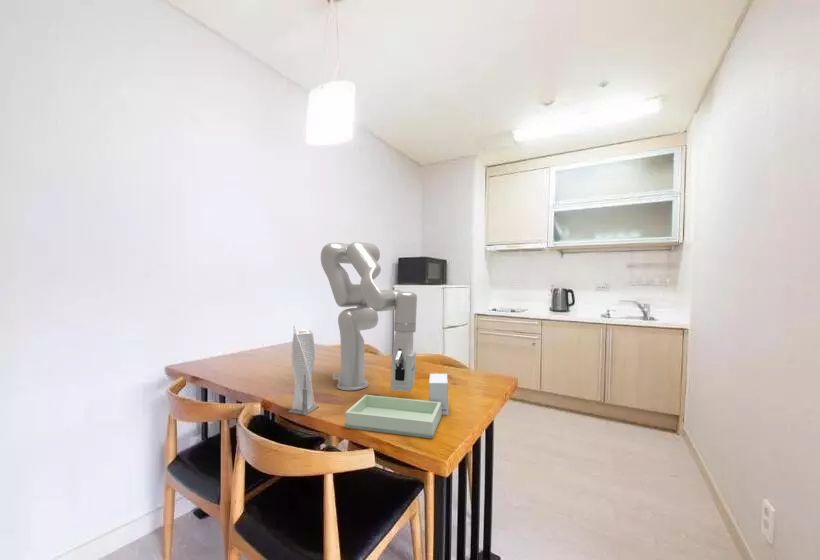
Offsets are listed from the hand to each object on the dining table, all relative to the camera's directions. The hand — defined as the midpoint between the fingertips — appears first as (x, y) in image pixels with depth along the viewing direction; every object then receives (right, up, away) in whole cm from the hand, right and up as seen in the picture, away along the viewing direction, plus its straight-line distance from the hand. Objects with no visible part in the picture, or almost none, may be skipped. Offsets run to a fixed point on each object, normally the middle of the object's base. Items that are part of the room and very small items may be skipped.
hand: (403, 376), depth 116 cm
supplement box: (0, -4, 0) cm, 4 cm away
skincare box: (+12, -9, -6) cm, 16 cm away
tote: (-2, -9, -16) cm, 19 cm away
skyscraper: (-34, -9, -6) cm, 35 cm away
